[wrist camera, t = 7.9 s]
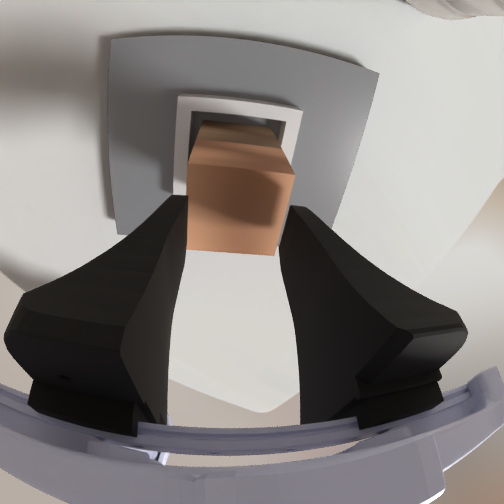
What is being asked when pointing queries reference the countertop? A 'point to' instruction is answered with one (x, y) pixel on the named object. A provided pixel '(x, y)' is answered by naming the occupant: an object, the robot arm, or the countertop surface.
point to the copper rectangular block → (237, 189)
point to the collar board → (229, 115)
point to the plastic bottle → (459, 8)
